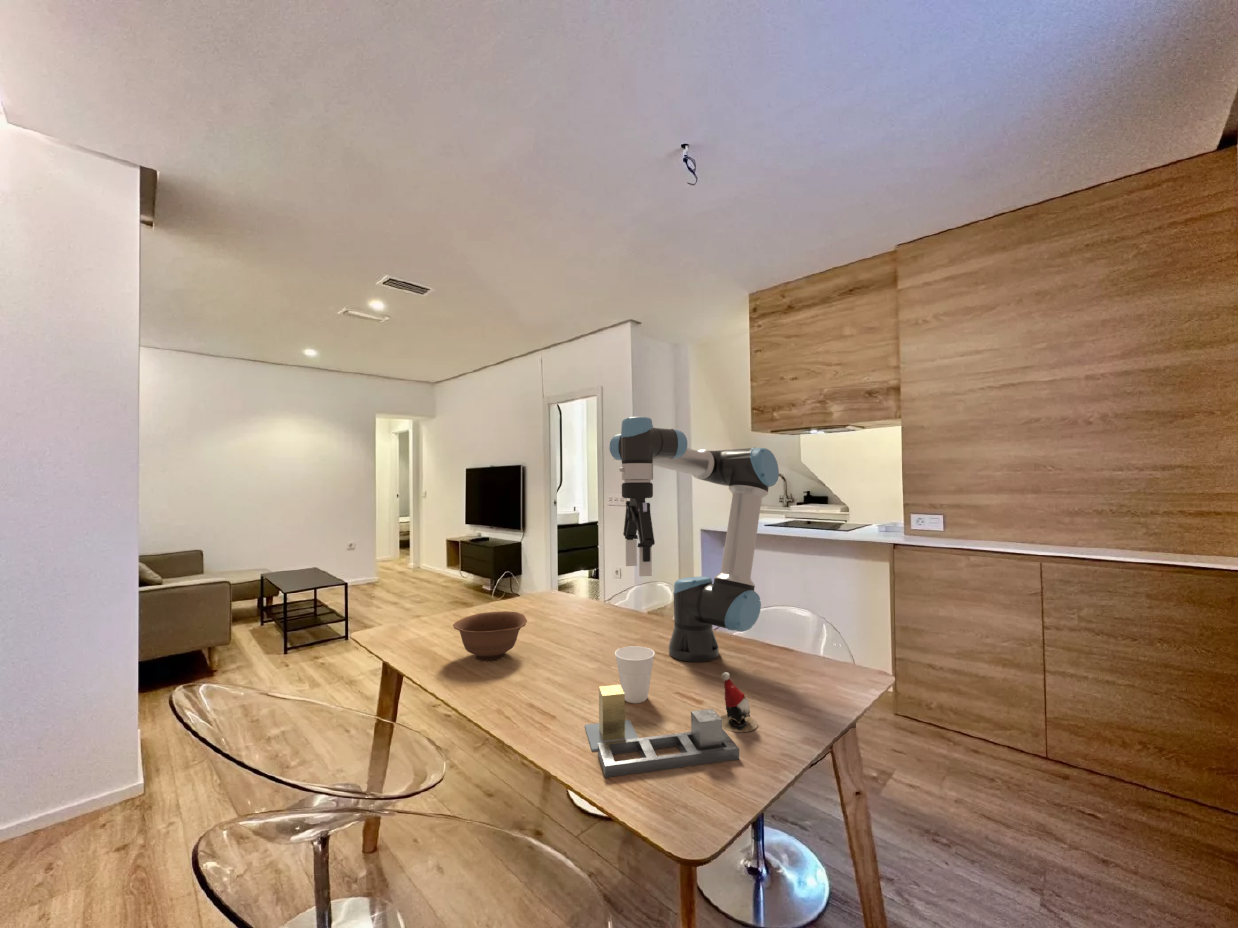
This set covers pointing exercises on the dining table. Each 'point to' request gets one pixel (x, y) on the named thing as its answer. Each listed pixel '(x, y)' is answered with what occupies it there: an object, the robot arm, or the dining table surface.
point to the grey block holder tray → (654, 762)
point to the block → (706, 729)
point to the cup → (635, 672)
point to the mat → (596, 738)
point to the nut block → (611, 712)
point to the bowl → (490, 633)
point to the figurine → (736, 708)
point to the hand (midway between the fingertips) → (638, 570)
